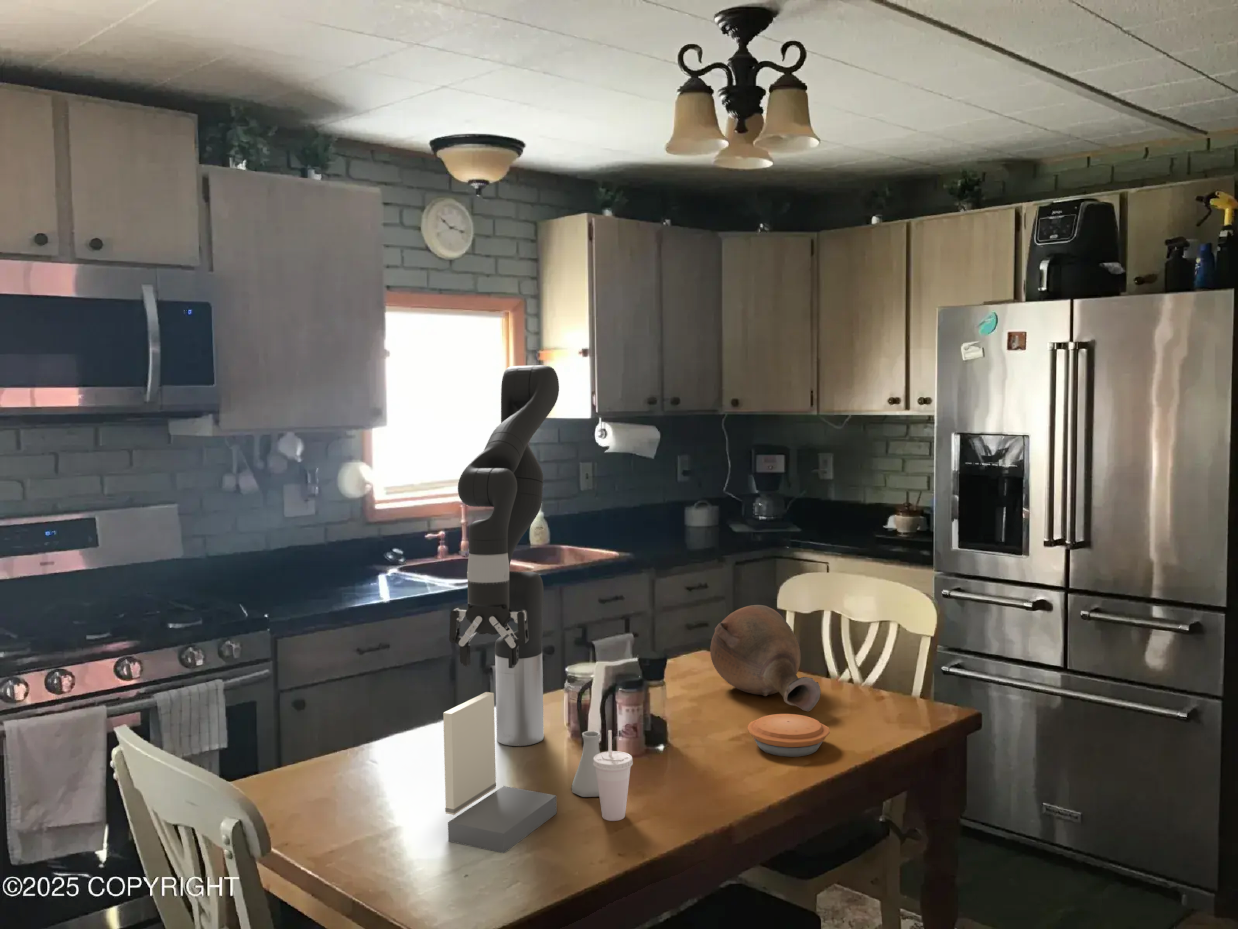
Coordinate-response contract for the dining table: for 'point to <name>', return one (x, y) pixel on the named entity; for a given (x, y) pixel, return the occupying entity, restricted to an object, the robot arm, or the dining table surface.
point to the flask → (587, 767)
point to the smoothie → (613, 781)
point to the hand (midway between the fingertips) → (489, 666)
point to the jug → (762, 656)
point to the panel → (469, 752)
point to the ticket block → (502, 819)
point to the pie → (788, 734)
